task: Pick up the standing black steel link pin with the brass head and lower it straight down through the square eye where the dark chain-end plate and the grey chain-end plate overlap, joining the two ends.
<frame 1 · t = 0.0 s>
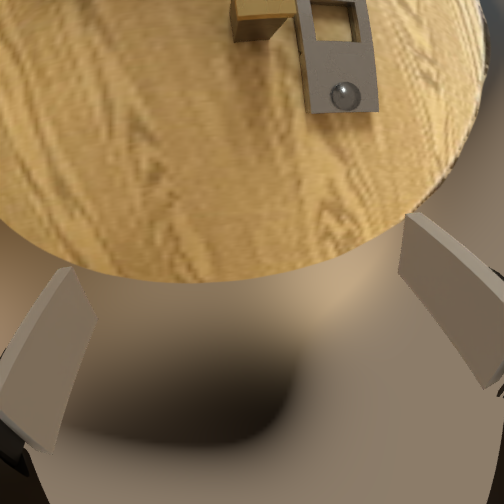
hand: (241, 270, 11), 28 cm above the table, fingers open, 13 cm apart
link pin: (249, 25, 28), on the table
chain end b: (333, 51, 30), on the table
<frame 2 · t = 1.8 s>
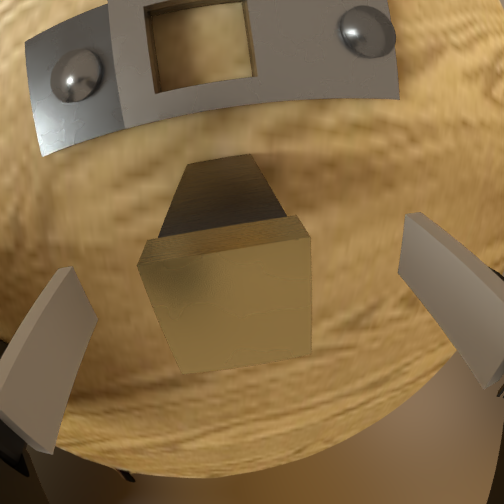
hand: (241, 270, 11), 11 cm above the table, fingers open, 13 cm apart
link pin: (223, 188, 20), on the table
chain end a: (139, 58, 15), on the table
chain end b: (264, 37, 15), on the table
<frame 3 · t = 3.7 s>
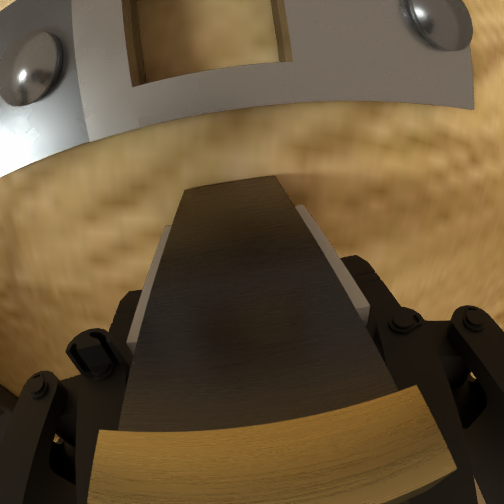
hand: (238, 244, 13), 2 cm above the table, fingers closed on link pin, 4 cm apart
link pin: (236, 223, 15), on the table, touching gripper
chain end a: (116, 38, 9), on the table
chain end b: (296, 9, 10), on the table
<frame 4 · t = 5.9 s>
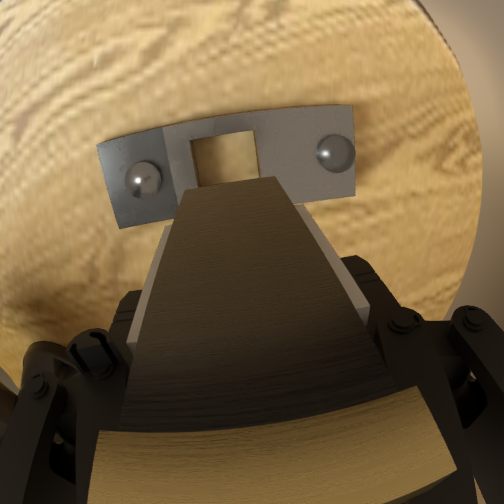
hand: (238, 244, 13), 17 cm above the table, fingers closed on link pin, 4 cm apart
link pin: (236, 223, 15), point 15 cm above the table, touching gripper
chain end a: (185, 168, 28), on the table
chain end b: (267, 154, 28), on the table
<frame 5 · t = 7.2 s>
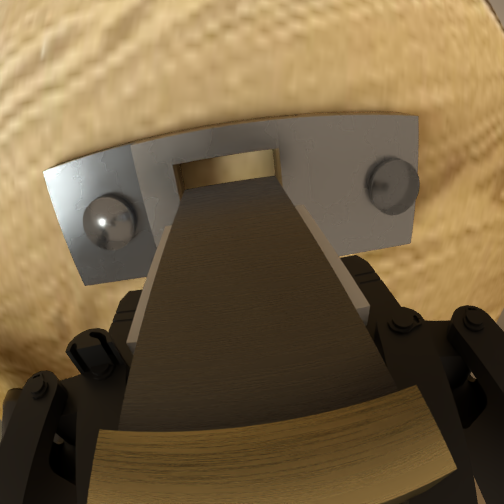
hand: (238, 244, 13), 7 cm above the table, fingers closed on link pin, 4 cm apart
link pin: (236, 223, 15), point 5 cm above the table, touching gripper
chain end a: (170, 202, 19), on the table
chain end b: (293, 183, 19), on the table
when the fingers open (3 cm above the table, at t = 8.2 s): link pin drops 1 cm, resting in chain end a.
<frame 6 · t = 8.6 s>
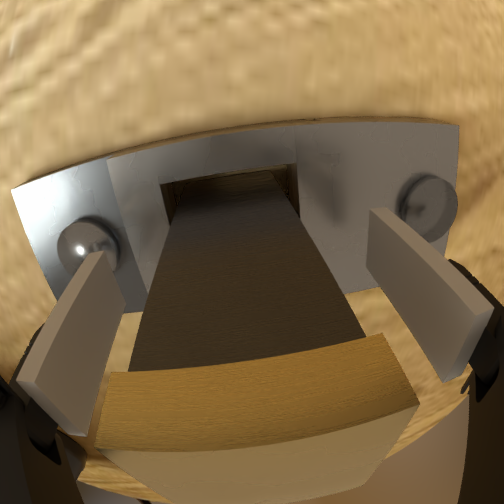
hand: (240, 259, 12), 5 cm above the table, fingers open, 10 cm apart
link pin: (233, 214, 16), resting in chain end a
chain end a: (160, 226, 15), on the table
chain end b: (309, 203, 16), on the table
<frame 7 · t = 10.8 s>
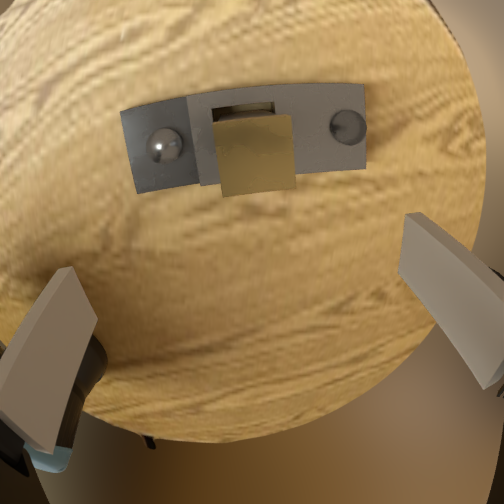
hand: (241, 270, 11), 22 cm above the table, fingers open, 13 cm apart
link pin: (244, 131, 29), resting in chain end a
chain end a: (205, 136, 28), on the table
chain end b: (284, 127, 29), on the table
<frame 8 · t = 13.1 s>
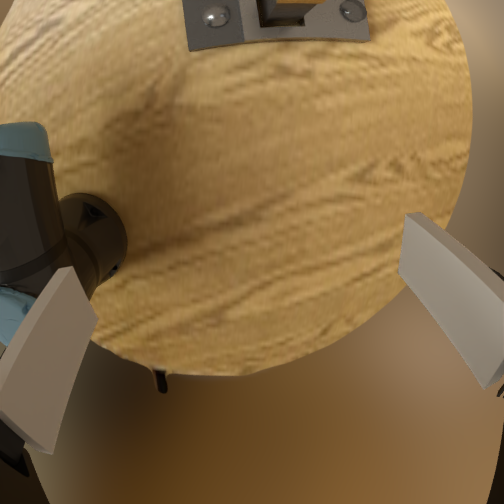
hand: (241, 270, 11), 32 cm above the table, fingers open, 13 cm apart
link pin: (276, 12, 30), resting in chain end a
chain end a: (246, 14, 30), on the table
chain end b: (305, 12, 30), on the table
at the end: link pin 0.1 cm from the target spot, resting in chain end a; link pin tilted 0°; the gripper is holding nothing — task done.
